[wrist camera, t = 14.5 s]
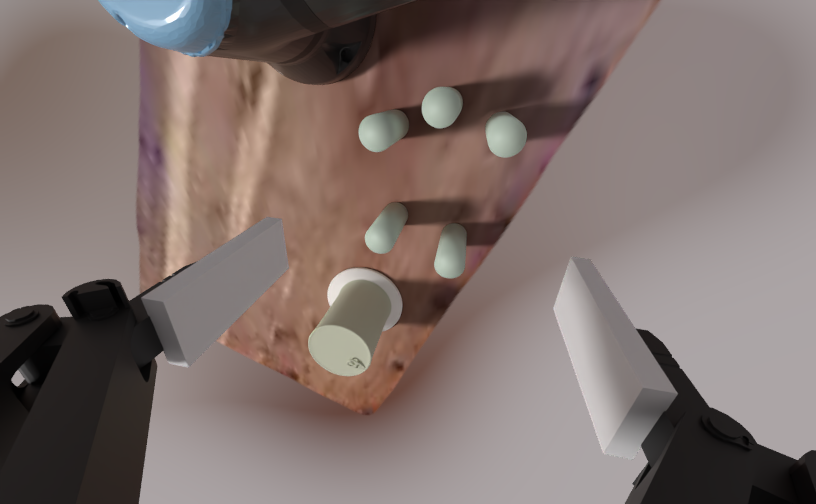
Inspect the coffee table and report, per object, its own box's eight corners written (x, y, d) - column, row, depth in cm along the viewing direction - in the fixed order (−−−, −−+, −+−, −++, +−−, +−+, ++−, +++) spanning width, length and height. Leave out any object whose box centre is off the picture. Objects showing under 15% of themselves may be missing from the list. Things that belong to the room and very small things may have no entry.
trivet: (333, 325, 58) (331, 327, 58) (325, 263, 52) (323, 265, 52) (402, 335, 56) (402, 337, 56) (402, 271, 50) (402, 273, 50)
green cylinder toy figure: (373, 333, 56) (349, 389, 46) (329, 303, 55) (295, 353, 45) (402, 301, 52) (383, 355, 41) (356, 269, 51) (324, 315, 40)
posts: (384, 240, 48) (366, 269, 40) (380, 86, 39) (355, 86, 31) (497, 250, 46) (502, 283, 38) (522, 87, 36) (535, 87, 28)
